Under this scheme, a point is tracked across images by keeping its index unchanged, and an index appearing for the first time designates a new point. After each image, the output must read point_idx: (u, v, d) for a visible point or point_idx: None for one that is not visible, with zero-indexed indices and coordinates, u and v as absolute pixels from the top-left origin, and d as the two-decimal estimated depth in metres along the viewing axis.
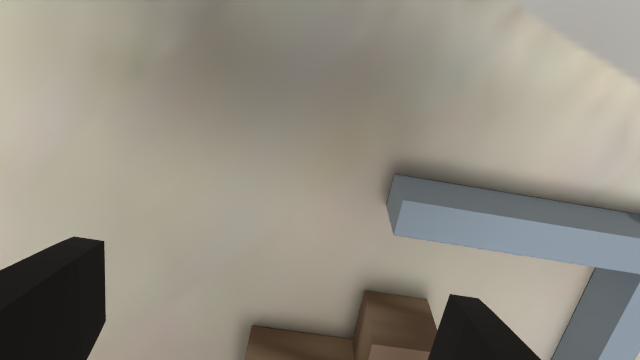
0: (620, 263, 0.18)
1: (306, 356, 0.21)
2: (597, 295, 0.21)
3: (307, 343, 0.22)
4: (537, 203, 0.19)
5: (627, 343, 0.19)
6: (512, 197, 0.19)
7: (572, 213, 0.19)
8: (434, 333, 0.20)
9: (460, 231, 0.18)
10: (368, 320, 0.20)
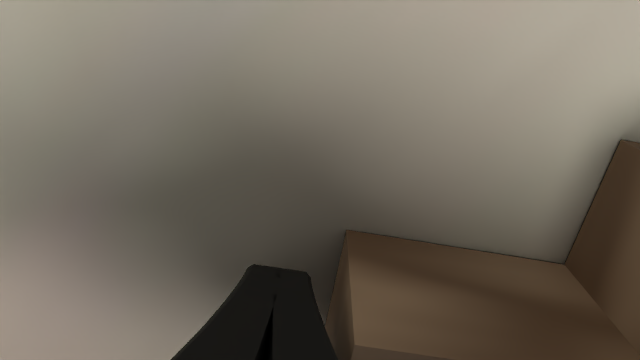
0: None
1: (489, 291, 0.09)
2: None
3: (477, 266, 0.10)
4: None
5: None
6: None
7: None
8: None
9: None
10: None
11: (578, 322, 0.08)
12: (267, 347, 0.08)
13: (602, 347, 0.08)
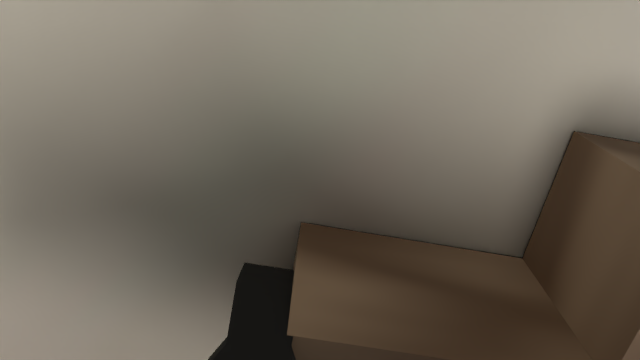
0: None
1: (438, 283, 0.09)
2: None
3: (431, 259, 0.10)
4: None
5: None
6: None
7: None
8: None
9: None
10: (632, 173, 0.07)
11: (526, 315, 0.08)
12: None
13: (546, 339, 0.08)
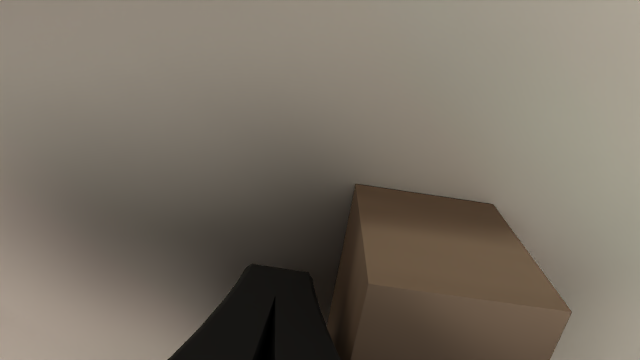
0: None
1: None
2: None
3: None
4: None
5: None
6: None
7: None
8: None
9: None
10: None
11: None
12: (269, 347, 0.08)
13: None
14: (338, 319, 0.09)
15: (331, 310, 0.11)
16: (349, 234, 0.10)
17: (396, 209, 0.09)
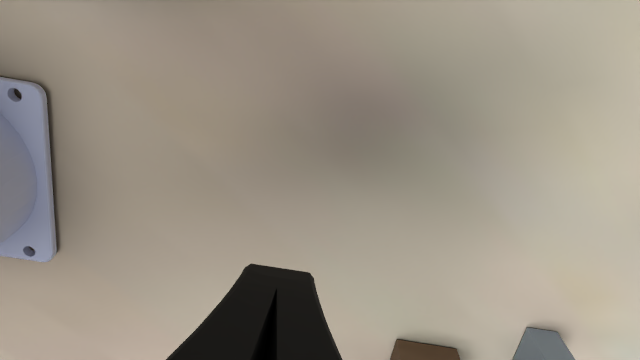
0: None
1: None
2: None
3: None
4: None
5: None
6: None
7: None
8: None
9: None
10: None
11: None
12: (271, 347, 0.08)
13: None
14: None
15: None
16: None
17: (415, 356, 0.22)
